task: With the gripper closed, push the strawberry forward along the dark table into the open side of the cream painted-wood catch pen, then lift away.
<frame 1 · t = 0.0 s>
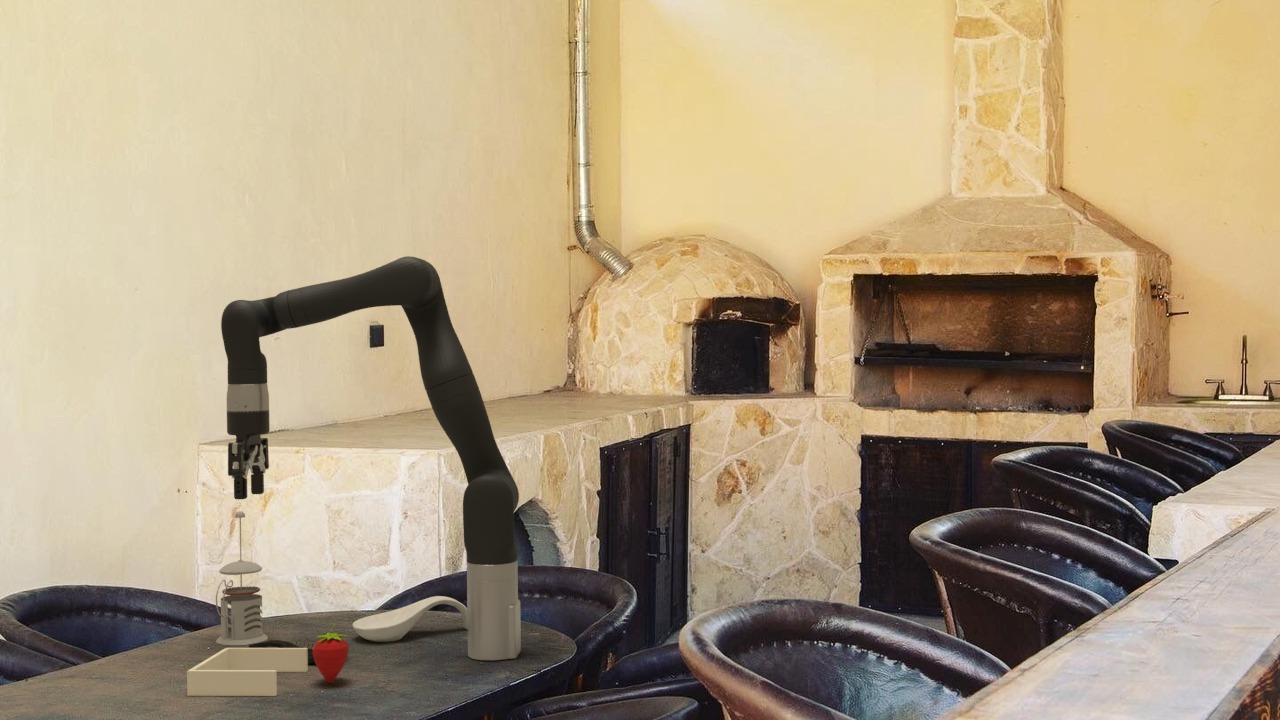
hand: (249, 496, 240), 29 cm above the table, fingers open, 8 cm apart
hairbrush: (294, 658, 240), on the table
catch pen: (249, 682, 220), on the table
french press: (239, 641, 253), on the table
spoon rest: (413, 637, 256), on the table
strawberry: (331, 684, 219), on the table
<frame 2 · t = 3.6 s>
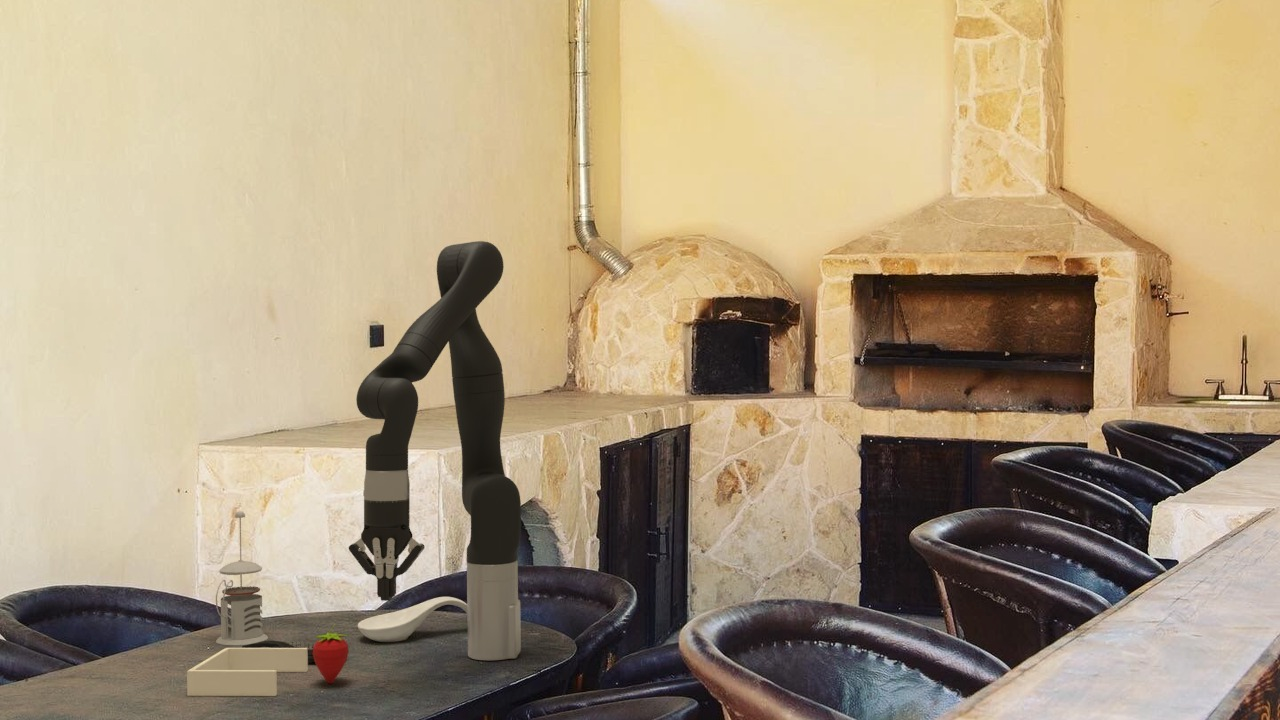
hand: (386, 599, 218), 14 cm above the table, fingers closed
spoon rest: (418, 637, 255), on the table
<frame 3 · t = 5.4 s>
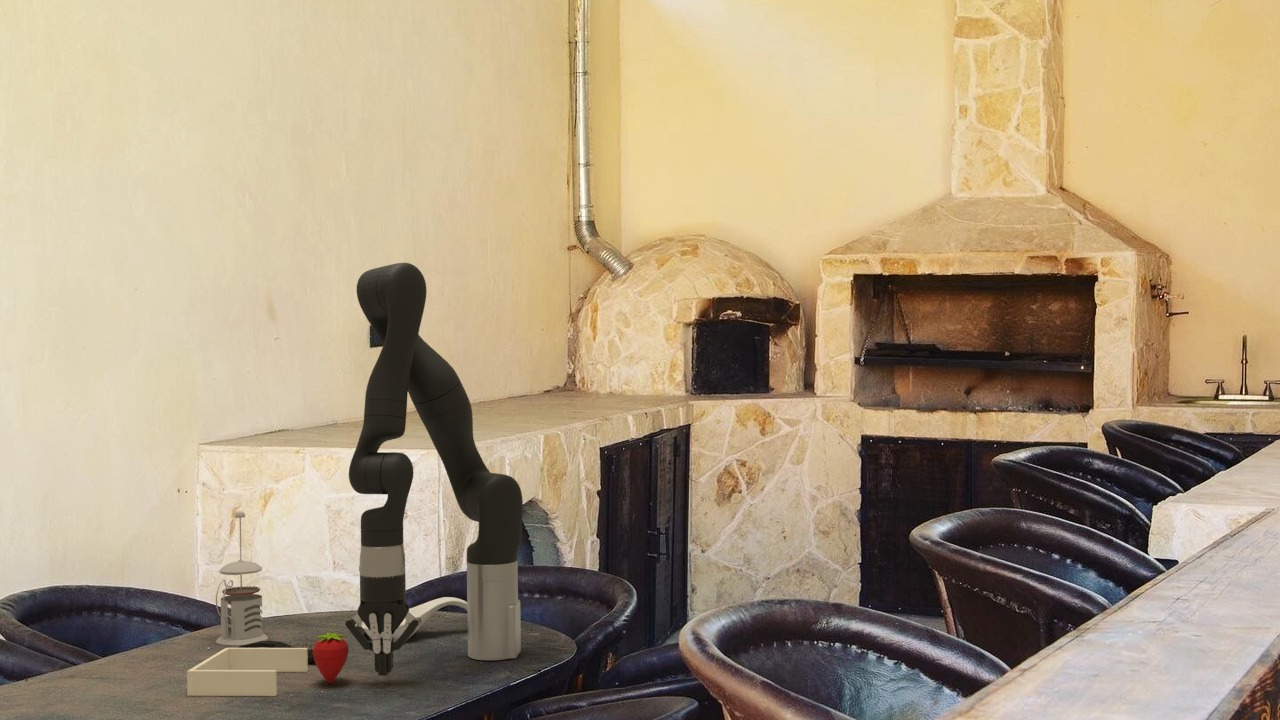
hand: (384, 674, 218), 2 cm above the table, fingers closed
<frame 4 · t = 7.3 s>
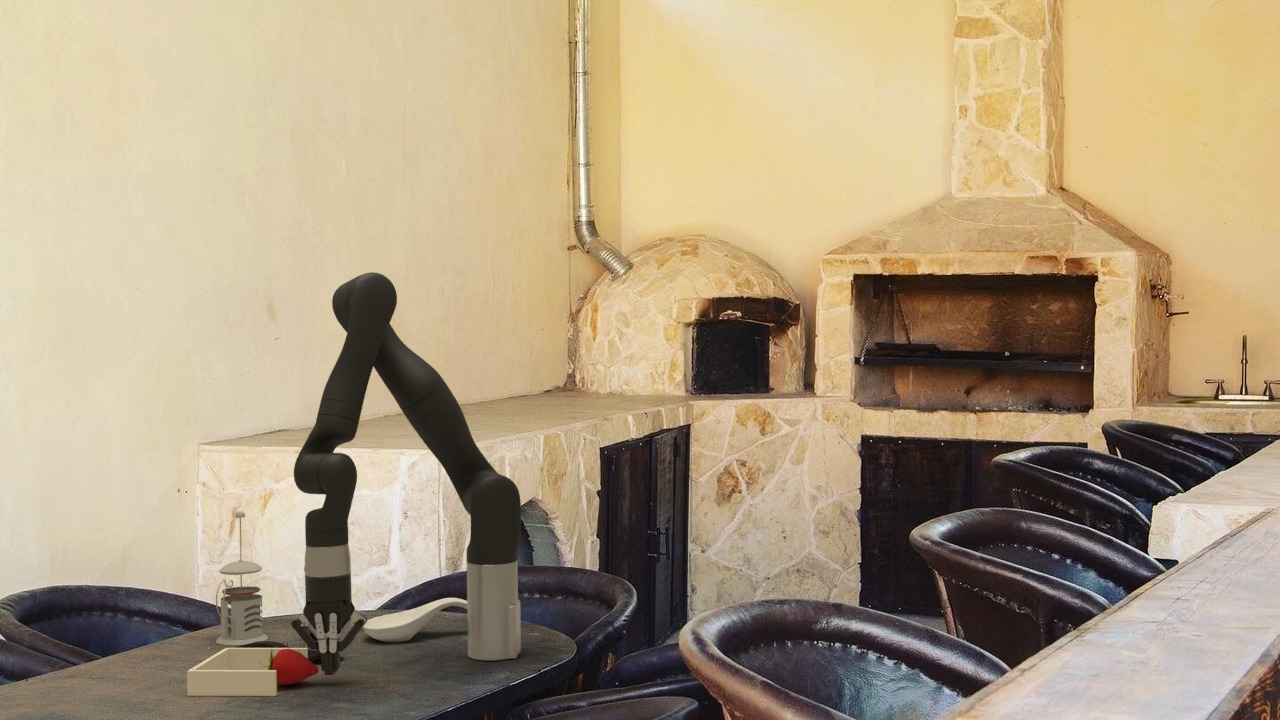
hand: (330, 673, 219), 2 cm above the table, fingers closed
strawberry: (319, 669, 218), point 2 cm above the table, touching gripper
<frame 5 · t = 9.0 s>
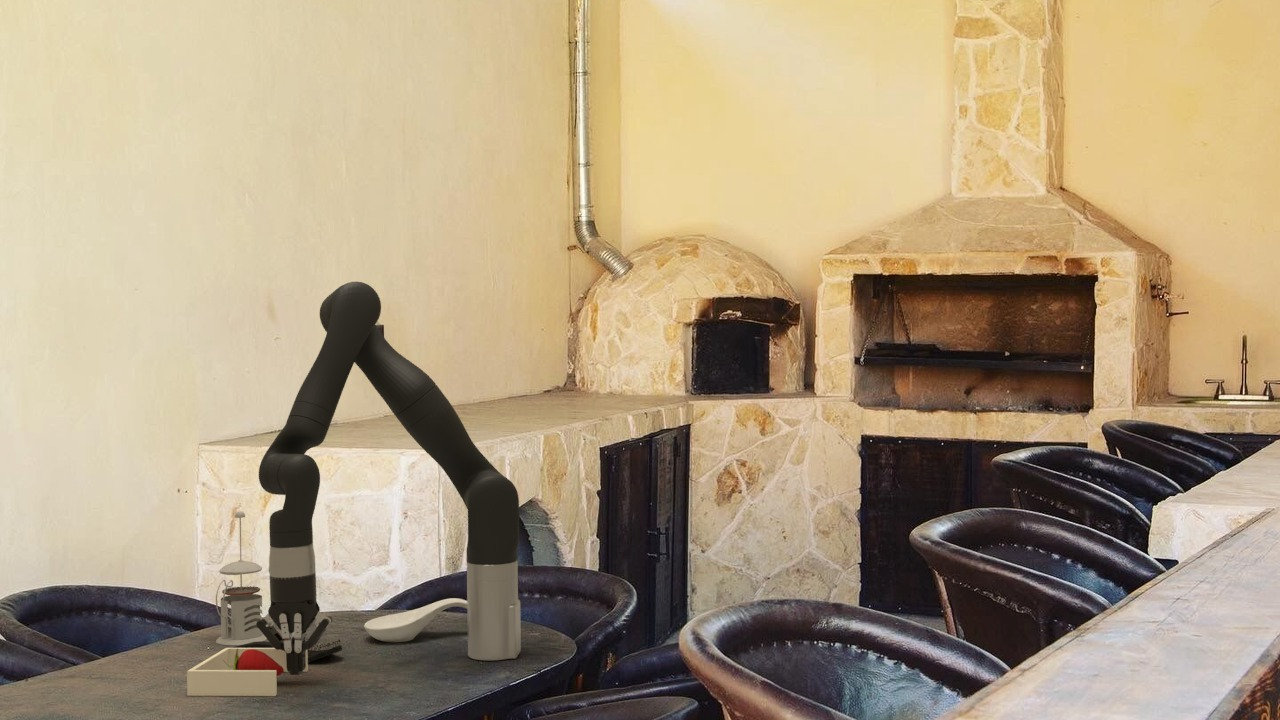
hand: (296, 673, 220), 1 cm above the table, fingers closed
strawberry: (284, 669, 219), point 2 cm above the table, touching gripper
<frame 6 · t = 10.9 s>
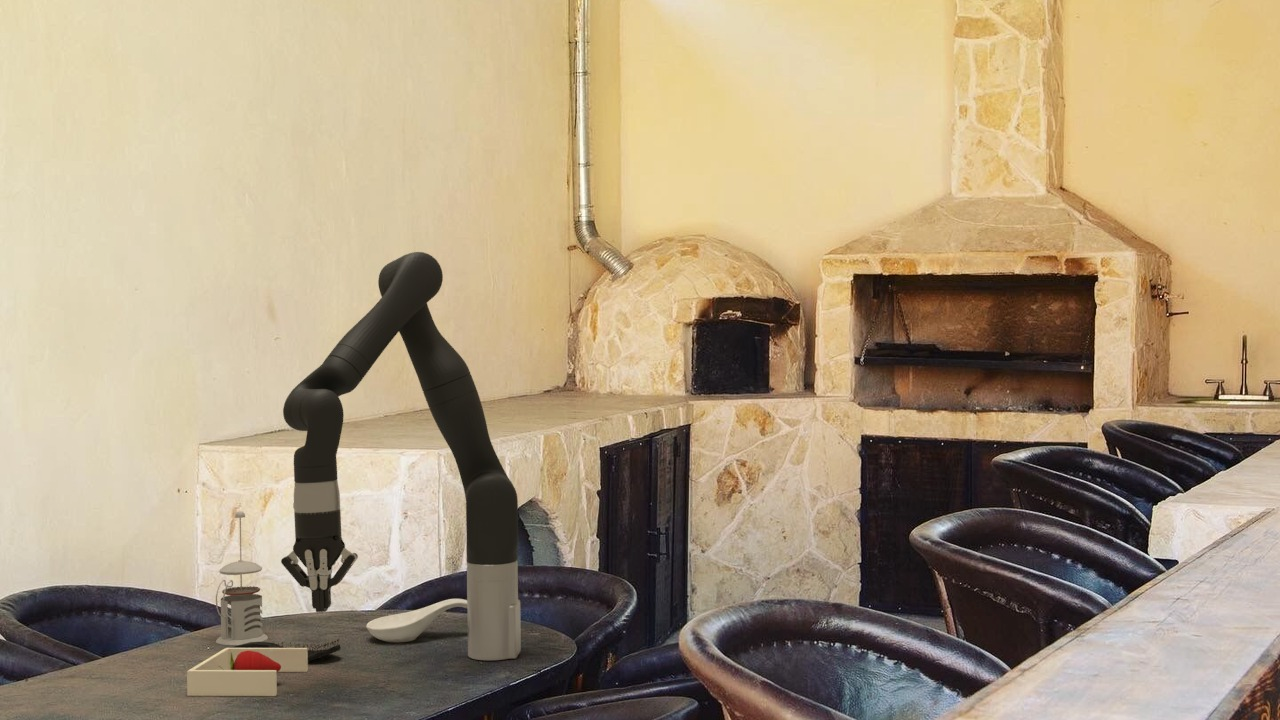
hand: (321, 611, 218), 12 cm above the table, fingers closed
strawberry: (282, 666, 219), point 3 cm above the table
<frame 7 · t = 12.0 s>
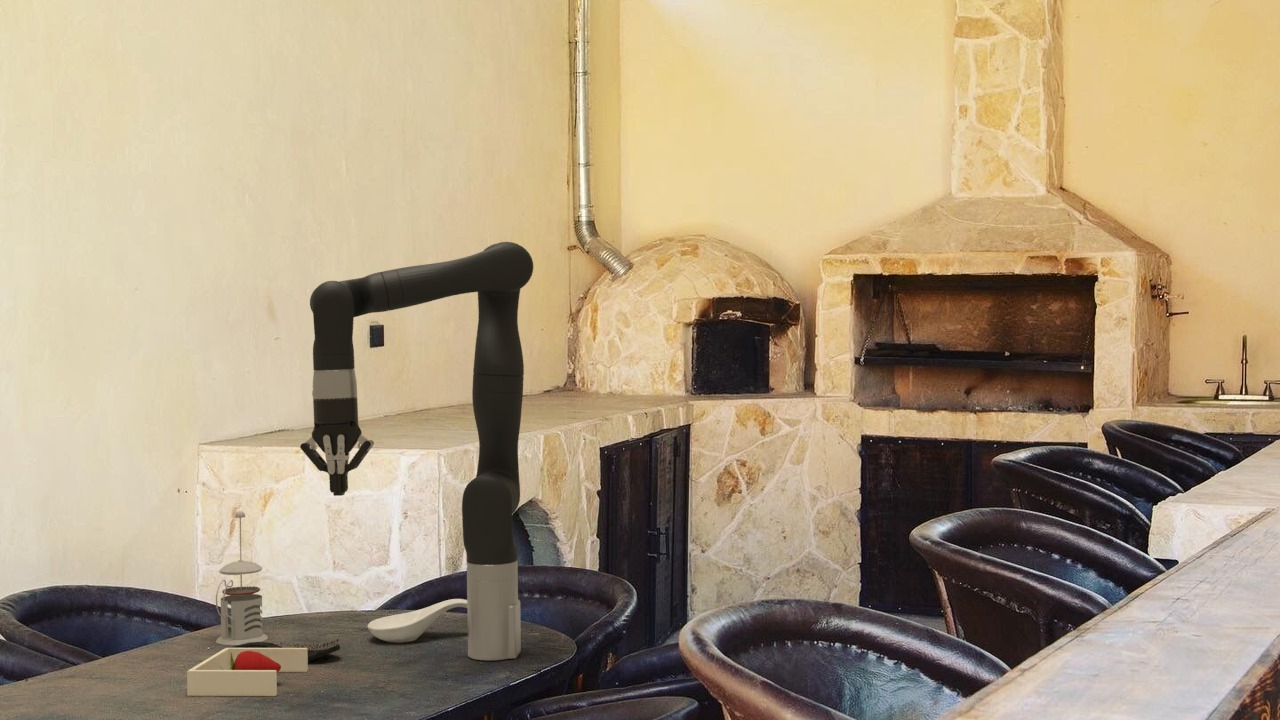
hand: (339, 495, 227), 31 cm above the table, fingers closed
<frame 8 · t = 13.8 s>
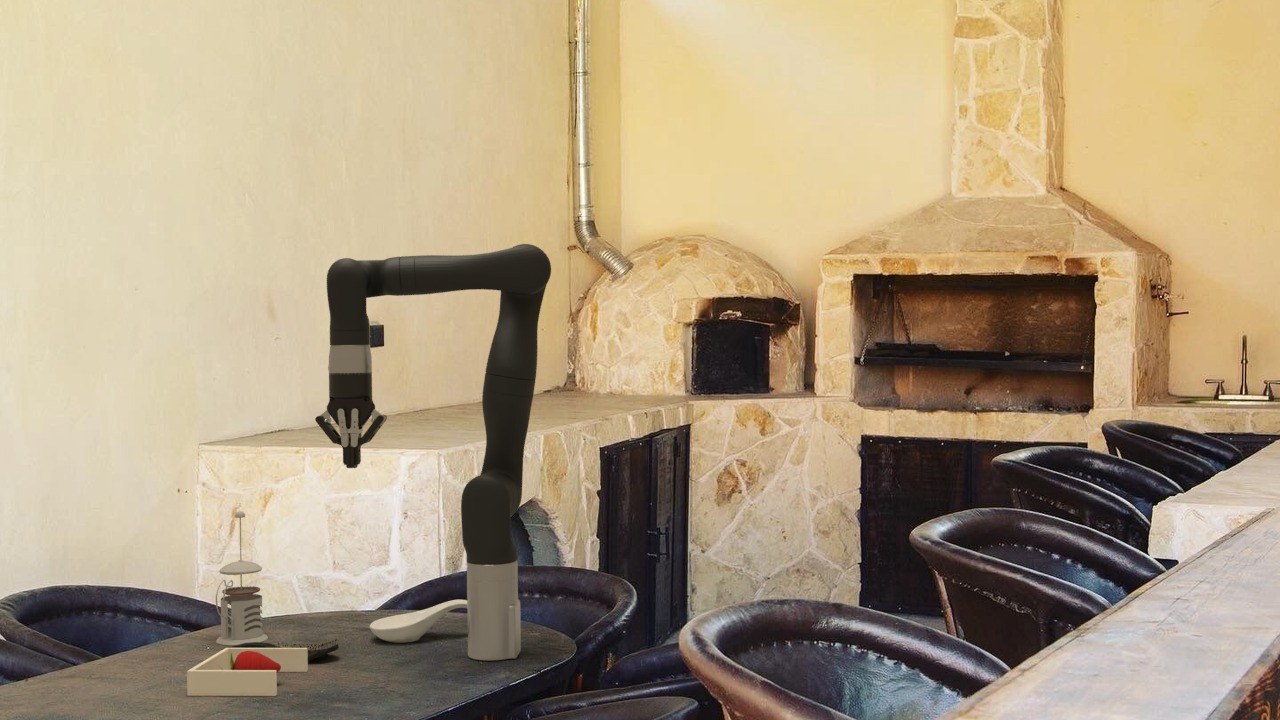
hand: (351, 467, 233), 35 cm above the table, fingers closed
at the end: strawberry inside the target area (6.2 cm from its centre), point 2.9 cm above the table; strawberry moved 8.7 cm from its start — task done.
